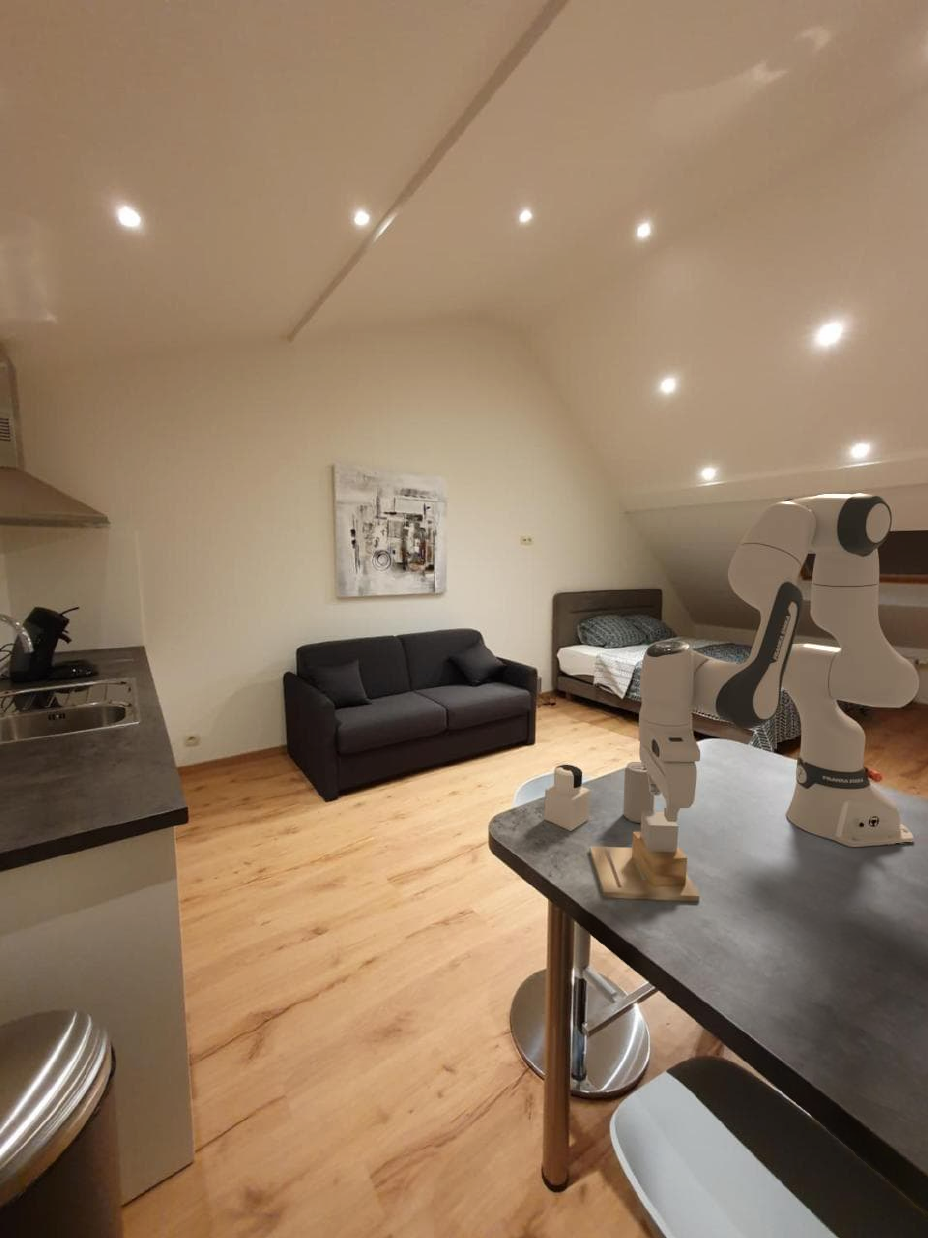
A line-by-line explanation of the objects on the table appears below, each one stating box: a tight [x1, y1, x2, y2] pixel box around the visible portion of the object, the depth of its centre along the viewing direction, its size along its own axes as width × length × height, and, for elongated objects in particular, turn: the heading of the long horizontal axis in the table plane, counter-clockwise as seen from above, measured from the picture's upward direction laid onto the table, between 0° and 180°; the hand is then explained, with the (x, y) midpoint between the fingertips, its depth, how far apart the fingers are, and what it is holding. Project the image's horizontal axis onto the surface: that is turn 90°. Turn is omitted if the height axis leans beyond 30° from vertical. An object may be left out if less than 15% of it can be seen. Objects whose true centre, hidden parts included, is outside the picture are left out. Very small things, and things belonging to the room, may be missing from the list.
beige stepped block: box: [544, 764, 591, 832], centre depth 116 cm, size 7×7×12 cm
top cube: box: [640, 811, 679, 852], centre depth 96 cm, size 5×5×5 cm
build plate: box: [589, 845, 700, 902], centre depth 97 cm, size 16×14×1 cm
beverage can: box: [622, 761, 655, 824], centre depth 117 cm, size 6×6×12 cm
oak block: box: [631, 830, 688, 886], centre depth 96 cm, size 6×9×5 cm, turn 5°
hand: (662, 806), depth 95 cm, fingers open, 8 cm apart
